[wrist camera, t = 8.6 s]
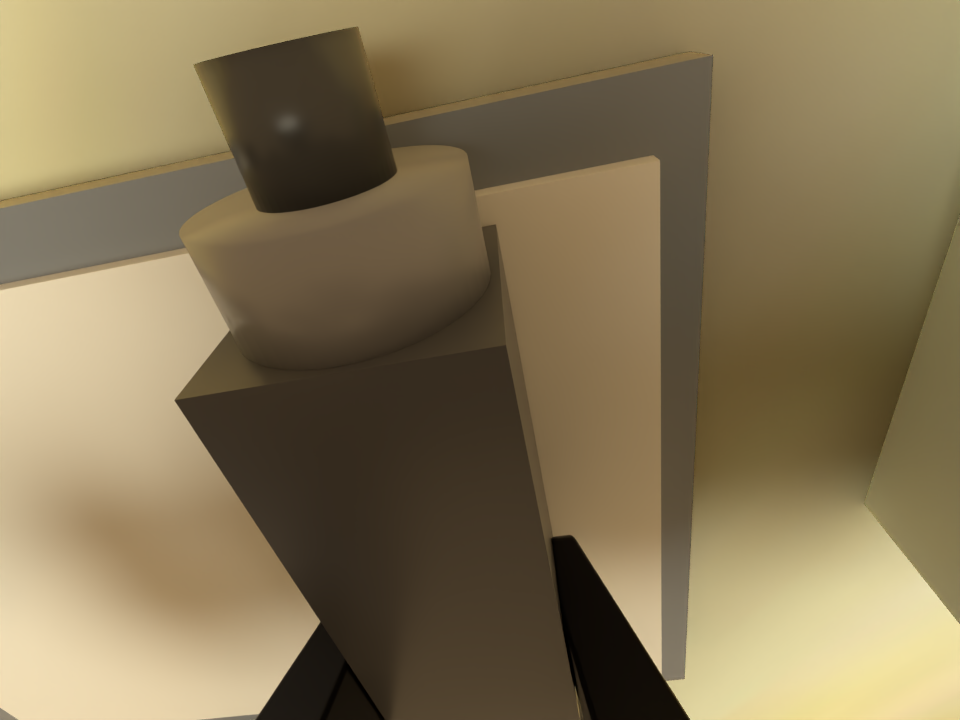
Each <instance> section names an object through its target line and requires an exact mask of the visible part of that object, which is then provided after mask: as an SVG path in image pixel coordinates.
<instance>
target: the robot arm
mask: <svg viewBox="0 0 960 720" xmlns="http://www.w3.org/2000/svg"><path fill="white" fill-rule="evenodd" d="M551 540H552V548H553V556H554V563H555V571H556V578H557V586H558V594H559V601H560V609H561V616H562V623H563V628H564V633H565V638H566V643H567V648H568V654H569V659H570V664H571V669H572V674H573V679H574V684H575V688H576V692H577V696H578V700H579V704H580V707H581V711H582V715H583V719H584V720H690V718H689V717H688V715H687V714H686V712H685V711H684V709H683V707H682V706H681V704H680V703H679V701H678V699H677V698H676V696H675V695H674V693H673V692H672V690H671V688H670V687H669V685H668V684H667V682H666V681H665V679H664V677H663V676H662V674H661V673H660V671H659V670H658V668H657V666H656V665H655V663H654V662H653V660H652V658H651V657H650V655H649V654H648V652H647V651H646V649H645V647H644V646H643V644H642V643H641V641H640V640H639V638H638V636H637V635H636V633H635V632H634V630H633V628H632V627H631V625H630V624H629V622H628V621H627V619H626V617H625V616H624V614H623V613H622V611H621V610H620V608H619V606H618V605H617V603H616V602H615V600H614V599H613V597H612V595H611V594H610V592H609V591H608V589H607V587H606V586H605V584H604V583H603V581H602V580H601V578H600V576H599V575H598V573H597V572H596V570H595V569H594V567H593V565H592V564H591V562H590V561H589V559H588V558H587V556H586V554H585V553H584V551H583V550H582V548H581V546H580V545H579V543H578V542H577V540H576V539H575V537H573V536H572V535H563V536H555V537H552V538H551ZM255 720H385V719H384V717H383V716H382V714H381V713H380V711H379V710H378V708H377V707H376V705H375V704H374V702H373V701H372V699H371V697H370V696H369V694H368V693H367V691H366V690H365V688H364V687H363V685H362V684H361V682H360V681H359V679H358V678H357V676H356V675H355V673H354V672H353V670H352V669H351V667H350V666H349V664H348V663H347V661H346V660H345V658H344V657H343V655H342V654H341V652H340V651H339V649H338V648H337V646H336V644H335V643H334V641H333V640H332V638H331V637H330V635H329V634H328V632H327V631H326V629H325V628H324V626H323V625H322V623H321V622H320V623H319V625H318V626H317V628H316V629H315V631H314V632H313V634H312V635H311V637H310V638H309V640H308V641H307V643H306V644H305V646H304V647H303V649H302V650H301V652H300V653H299V655H298V656H297V658H296V659H295V661H294V662H293V664H292V665H291V667H290V668H289V670H288V671H287V673H286V674H285V676H284V677H283V679H282V680H281V682H280V683H279V685H278V686H277V688H276V689H275V691H274V692H273V694H272V695H271V697H270V698H269V700H268V701H267V703H266V704H265V706H264V707H263V709H262V710H261V712H260V713H259V715H258V716H257V718H256V719H255Z"/></svg>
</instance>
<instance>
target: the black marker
mask: <svg viewBox="0 0 960 720" xmlns="http://www.w3.org/2000/svg"><path fill="white" fill-rule="evenodd" d="M194 67H195V70H196V72H197V74H198V76H199V79H200V81H201V83H202V86H203V88H204V90H205V93H206V95H207V97H208V99H209V102H210V104H211V106H212V109H213V111H214V113H215V115H216V118H217V120H218V122H219V125H220V127H221V129H222V131H223V134H224V136H225V138H226V141H227V143H228V145H229V147H230V150H231V152H232V154H233V157H234V159H235V161H236V163H237V166H238V168H239V170H240V173H241V175H242V177H243V180H244V182H245V184H246V186H247V188H245V189H243V190H240V191H238V192H236V193H234V194H231V195H229V196H227V197H225V198H223V199H221V200H219V201H217V202H215V203H213V204H211V205H209V206H207V207H206V208H204V209H202V210H201V211H199V212H198V213H196V214H195V215H193V216H192V217H191V218H189V219H188V220H187V221H186V222H185V223H184V224H183V225H182V227H181V229H180V230H179V236H180V238H181V240H182V242H183V244H184V246H185V247H186V249H187V251H188V253H189V255H190V257H191V259H192V260H193V262H194V264H195V266H196V268H197V270H198V272H199V274H200V275H201V277H202V279H203V281H204V283H205V285H206V287H207V289H208V290H209V292H210V294H211V296H212V298H213V300H214V302H215V304H216V305H217V307H218V309H219V311H220V313H221V315H222V317H223V318H224V320H225V322H226V324H227V326H228V328H229V332H228V333H227V334H226V336H225V337H224V338H223V339H222V341H221V342H220V343H219V344H218V346H217V347H216V348H215V349H214V351H213V352H212V353H211V354H210V356H209V357H208V358H207V359H206V361H205V362H204V363H203V365H202V366H201V367H200V368H199V370H198V371H197V372H196V373H195V375H194V376H193V377H192V378H191V380H190V381H189V382H188V383H187V385H186V386H185V387H184V388H183V390H182V391H181V392H180V393H179V395H178V396H177V397H176V399H175V400H174V401H175V402H176V404H177V405H178V407H179V408H180V410H181V411H182V413H183V414H184V416H185V417H186V419H187V420H188V422H189V423H190V425H191V426H192V428H193V429H194V431H195V432H196V434H197V436H198V437H199V439H200V440H201V442H202V443H203V445H204V446H205V448H206V449H207V451H208V452H209V454H210V455H211V457H212V458H213V460H214V461H215V463H216V464H217V466H218V467H219V469H220V470H221V472H222V473H223V475H224V476H225V478H226V479H227V481H228V482H229V484H230V485H231V487H232V489H233V490H234V492H235V493H236V495H237V496H238V498H239V499H240V501H241V502H242V504H243V505H244V507H245V508H246V510H247V511H248V513H249V514H250V516H251V517H252V519H253V520H254V522H255V523H256V525H257V526H258V528H259V529H260V531H261V532H262V534H263V535H264V537H265V538H266V540H267V542H268V543H269V545H270V546H271V548H272V549H273V551H274V552H275V554H276V555H277V557H278V558H279V560H280V561H281V563H282V564H283V566H284V567H285V569H286V570H287V572H288V573H289V575H290V576H291V578H292V579H293V581H294V582H295V584H296V585H297V587H298V588H299V590H300V591H301V593H302V595H303V596H304V598H305V599H306V601H307V602H308V604H309V605H310V607H311V608H312V610H313V611H314V613H315V614H316V616H317V617H318V619H319V620H320V622H321V623H322V625H323V626H324V628H325V629H326V631H327V632H328V634H329V635H330V637H331V638H332V640H333V641H334V643H335V644H336V646H337V648H338V649H339V651H340V652H341V654H342V655H343V657H344V658H345V660H346V661H347V663H348V664H349V666H350V667H351V669H352V670H353V672H354V673H355V675H356V676H357V678H358V679H359V681H360V682H361V684H362V685H363V687H364V688H365V690H366V691H367V693H368V694H369V696H370V697H371V699H372V701H373V702H374V704H375V705H376V707H377V708H378V710H379V711H380V713H381V714H382V716H383V717H384V719H385V720H584V719H583V715H582V711H581V707H580V704H579V700H578V696H577V692H576V688H575V684H574V679H573V674H572V669H571V664H570V659H569V654H568V648H567V643H566V638H565V633H564V628H563V623H562V616H561V609H560V601H559V594H558V586H557V578H556V571H555V563H554V556H553V548H552V540H551V538H552V537H553V534H552V528H551V523H550V517H549V512H548V506H547V501H546V495H545V490H544V484H543V479H542V473H541V468H540V462H539V457H538V451H537V446H536V441H535V435H534V430H533V424H532V419H531V413H530V408H529V402H528V397H527V391H526V386H525V380H524V375H523V369H522V364H521V358H520V353H519V347H518V342H517V336H516V331H515V325H514V320H513V315H512V309H511V304H510V298H509V293H508V287H507V282H506V276H505V271H504V265H503V260H502V254H501V249H500V243H499V238H498V232H497V227H496V224H495V225H490V226H485V227H482V226H481V221H480V216H479V211H478V206H477V201H476V196H475V191H474V186H473V181H472V176H471V171H470V166H469V161H468V156H467V153H466V152H465V151H464V150H462V149H460V148H456V147H452V146H444V145H420V146H408V147H399V148H392V149H391V145H390V141H389V138H388V134H387V130H386V127H385V123H384V120H383V116H382V112H381V109H380V105H379V101H378V98H377V94H376V90H375V87H374V83H373V79H372V76H371V72H370V68H369V65H368V61H367V57H366V54H365V50H364V47H363V43H362V39H361V36H360V32H359V28H358V27H354V28H348V29H343V30H337V31H332V32H327V33H323V34H318V35H313V36H309V37H304V38H299V39H295V40H290V41H286V42H282V43H277V44H273V45H268V46H264V47H260V48H256V49H251V50H247V51H243V52H239V53H235V54H231V55H227V56H223V57H219V58H215V59H211V60H207V61H204V62H200V63H197V64H194Z"/></svg>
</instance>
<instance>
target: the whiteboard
mask: <svg viewBox="0 0 960 720" xmlns="http://www.w3.org/2000/svg"><path fill="white" fill-rule="evenodd" d="M712 67H713V55H710V54H703V53H697V52H685V53H680V54H676V55H671V56H667V57H662V58H657V59H653V60H648V61H643V62H639V63H634V64H630V65H625V66H620V67H616V68H611V69H607V70H602V71H597V72H593V73H588V74H584V75H579V76H574V77H570V78H565V79H560V80H556V81H551V82H547V83H542V84H537V85H533V86H528V87H524V88H519V89H514V90H510V91H505V92H501V93H496V94H491V95H487V96H482V97H477V98H473V99H468V100H464V101H459V102H454V103H450V104H445V105H441V106H436V107H431V108H427V109H422V110H418V111H413V112H408V113H404V114H399V115H394V116H390V117H385V118H383V120H384V123H385V127H386V130H387V134H388V138H389V141H390V145H391V149H392V148H399V147H408V146H420V145H444V146H452V147H456V148H460V149H462V150H464V151H465V152H466V153H467V156H468V161H469V166H470V171H471V176H472V181H473V186H474V191H475V196H476V201H477V206H478V211H479V216H480V221H481V226H482V227H485V226H490V225H495V224H496V227H497V232H498V238H499V243H500V249H501V254H502V260H503V265H504V271H505V276H506V282H507V287H508V293H509V298H510V304H511V309H512V315H513V320H514V325H515V331H516V336H517V342H518V347H519V353H520V358H521V364H522V369H523V375H524V380H525V386H526V391H527V397H528V402H529V408H530V413H531V419H532V424H533V430H534V435H535V441H536V446H537V451H538V457H539V462H540V468H541V473H542V479H543V484H544V490H545V495H546V501H547V506H548V512H549V517H550V523H551V528H552V534H553V537H555V536H563V535H572V536H573V537H575V539H576V540H577V542H578V543H579V545H580V546H581V548H582V550H583V551H584V553H585V554H586V556H587V558H588V559H589V561H590V562H591V564H592V565H593V567H594V569H595V570H596V572H597V573H598V575H599V576H600V578H601V580H602V581H603V583H604V584H605V586H606V587H607V589H608V591H609V592H610V594H611V595H612V597H613V599H614V600H615V602H616V603H617V605H618V606H619V608H620V610H621V611H622V613H623V614H624V616H625V617H626V619H627V621H628V622H629V624H630V625H631V627H632V628H633V630H634V632H635V633H636V635H637V636H638V638H639V640H640V641H641V643H642V644H643V646H644V647H645V649H646V651H647V652H648V654H649V655H650V657H651V658H652V660H653V662H654V663H655V665H656V666H657V668H658V670H659V671H660V673H661V674H662V676H663V677H664V679H665V681H668V680H678V679H685V657H686V636H687V614H688V592H689V570H690V548H691V526H692V504H693V483H694V461H695V439H696V417H697V395H698V373H699V352H700V330H701V308H702V286H703V264H704V242H705V220H706V199H707V177H708V155H709V133H710V111H711V89H712ZM245 188H247V186H246V184H245V182H244V180H243V177H242V175H241V173H240V170H239V168H238V166H237V163H236V161H235V159H234V157H233V154H232V152H231V151H228V152H224V153H219V154H215V155H210V156H205V157H201V158H196V159H192V160H187V161H182V162H178V163H173V164H169V165H164V166H159V167H155V168H150V169H145V170H141V171H136V172H132V173H127V174H122V175H118V176H113V177H109V178H104V179H99V180H95V181H90V182H86V183H81V184H76V185H72V186H67V187H62V188H58V189H53V190H49V191H44V192H39V193H35V194H30V195H26V196H21V197H16V198H12V199H7V200H2V201H0V720H255V719H256V718H257V716H258V715H259V713H260V712H261V710H262V709H263V707H264V706H265V704H266V703H267V701H268V700H269V698H270V697H271V695H272V694H273V692H274V691H275V689H276V688H277V686H278V685H279V683H280V682H281V680H282V679H283V677H284V676H285V674H286V673H287V671H288V670H289V668H290V667H291V665H292V664H293V662H294V661H295V659H296V658H297V656H298V655H299V653H300V652H301V650H302V649H303V647H304V646H305V644H306V643H307V641H308V640H309V638H310V637H311V635H312V634H313V632H314V631H315V629H316V628H317V626H318V625H319V623H320V620H319V619H318V617H317V616H316V614H315V613H314V611H313V610H312V608H311V607H310V605H309V604H308V602H307V601H306V599H305V598H304V596H303V595H302V593H301V591H300V590H299V588H298V587H297V585H296V584H295V582H294V581H293V579H292V578H291V576H290V575H289V573H288V572H287V570H286V569H285V567H284V566H283V564H282V563H281V561H280V560H279V558H278V557H277V555H276V554H275V552H274V551H273V549H272V548H271V546H270V545H269V543H268V542H267V540H266V538H265V537H264V535H263V534H262V532H261V531H260V529H259V528H258V526H257V525H256V523H255V522H254V520H253V519H252V517H251V516H250V514H249V513H248V511H247V510H246V508H245V507H244V505H243V504H242V502H241V501H240V499H239V498H238V496H237V495H236V493H235V492H234V490H233V489H232V487H231V485H230V484H229V482H228V481H227V479H226V478H225V476H224V475H223V473H222V472H221V470H220V469H219V467H218V466H217V464H216V463H215V461H214V460H213V458H212V457H211V455H210V454H209V452H208V451H207V449H206V448H205V446H204V445H203V443H202V442H201V440H200V439H199V437H198V436H197V434H196V432H195V431H194V429H193V428H192V426H191V425H190V423H189V422H188V420H187V419H186V417H185V416H184V414H183V413H182V411H181V410H180V408H179V407H178V405H177V404H176V402H175V401H174V400H175V399H176V397H177V396H178V395H179V393H180V392H181V391H182V390H183V388H184V387H185V386H186V385H187V383H188V382H189V381H190V380H191V378H192V377H193V376H194V375H195V373H196V372H197V371H198V370H199V368H200V367H201V366H202V365H203V363H204V362H205V361H206V359H207V358H208V357H209V356H210V354H211V353H212V352H213V351H214V349H215V348H216V347H217V346H218V344H219V343H220V342H221V341H222V339H223V338H224V337H225V336H226V334H227V333H228V332H229V328H228V326H227V324H226V322H225V320H224V318H223V317H222V315H221V313H220V311H219V309H218V307H217V305H216V304H215V302H214V300H213V298H212V296H211V294H210V292H209V290H208V289H207V287H206V285H205V283H204V281H203V279H202V277H201V275H200V274H199V272H198V270H197V268H196V266H195V264H194V262H193V260H192V259H191V257H190V255H189V253H188V251H187V249H186V247H185V246H184V244H183V242H182V240H181V238H180V236H179V230H180V229H181V227H182V225H183V224H184V223H185V222H186V221H187V220H188V219H189V218H191V217H192V216H193V215H195V214H196V213H198V212H199V211H201V210H202V209H204V208H206V207H207V206H209V205H211V204H213V203H215V202H217V201H219V200H221V199H223V198H225V197H227V196H229V195H231V194H234V193H236V192H238V191H240V190H243V189H245Z"/></svg>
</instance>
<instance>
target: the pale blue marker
mask: <svg viewBox="0 0 960 720" xmlns="http://www.w3.org/2000/svg"><path fill="white" fill-rule="evenodd" d="M864 504H865V506H866V507H867V508H868V510H869V511H870V512H871V513H872V515H873V516H874V517H875V518H876V520H877V521H878V522H879V523H880V525H881V526H882V527H883V528H884V530H885V531H886V532H887V533H888V535H889V536H890V537H891V538H892V540H893V541H894V542H895V543H896V545H897V546H898V547H899V548H900V550H901V551H902V552H903V553H904V555H905V556H906V557H907V558H908V560H909V561H910V562H911V563H912V565H913V566H914V567H915V568H916V570H917V571H918V572H919V573H920V575H921V576H922V577H923V578H924V580H925V581H926V582H927V583H928V585H929V586H930V587H931V589H932V590H933V591H934V592H935V594H936V595H937V596H938V597H939V599H940V600H941V601H942V602H943V604H944V605H945V606H946V607H947V609H948V610H949V611H950V612H951V614H952V615H953V616H954V617H955V619H956V620H957V621H958V622H959V624H960V215H959V218H958V221H957V224H956V227H955V230H954V233H953V236H952V239H951V242H950V245H949V248H948V251H947V254H946V258H945V261H944V264H943V267H942V270H941V273H940V276H939V279H938V282H937V285H936V288H935V291H934V294H933V297H932V300H931V303H930V306H929V309H928V312H927V315H926V318H925V321H924V324H923V327H922V330H921V333H920V336H919V339H918V342H917V345H916V348H915V351H914V354H913V357H912V360H911V363H910V366H909V369H908V372H907V375H906V378H905V381H904V384H903V387H902V390H901V393H900V396H899V399H898V402H897V405H896V408H895V411H894V414H893V417H892V420H891V423H890V426H889V429H888V432H887V435H886V438H885V441H884V444H883V447H882V450H881V453H880V456H879V459H878V462H877V465H876V468H875V471H874V474H873V477H872V480H871V483H870V486H869V489H868V492H867V495H866V498H865V501H864Z"/></svg>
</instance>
